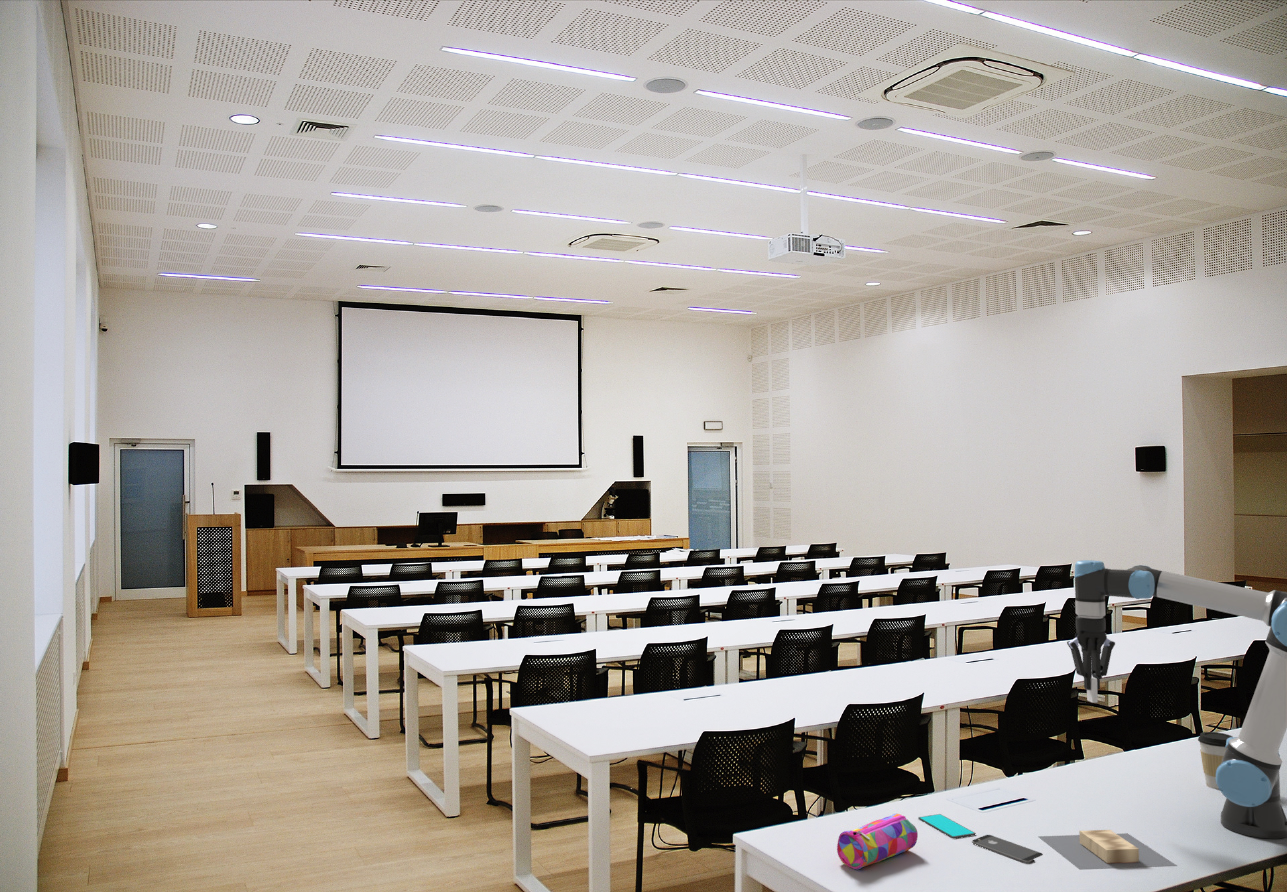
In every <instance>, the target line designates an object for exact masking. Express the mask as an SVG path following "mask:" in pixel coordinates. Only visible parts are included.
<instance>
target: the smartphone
mask: <svg viewBox="0 0 1287 892" xmlns="http://www.w3.org/2000/svg"><path fill="white" fill-rule="evenodd" d="M918 820H920V821H921V822H922V823H924V822H925V824H927V825H928V826H929V827H931V826H932V828H933V829H935V830H937V831H938V830H939V831H938V832H940V833H941V834H943V835H945V834H946V836H947V837H949V838H950V839H952V838H956V839H961V837H963V838H964V836H969V837H972V836H971V835H975V834H976V832H975V831H973V830H971V829H969V828H967V827H965V826H963V825H962V824H960V823H958V822H956V821H954V820H952V819H951V818H949V817H946V816H945V815H943V814H942V813H938V814H937V813H936V814H929V815H923V816H918ZM976 835H977V834H976ZM976 835H975V836H976Z"/></svg>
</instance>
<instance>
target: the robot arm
mask: <svg viewBox="0 0 1287 892" xmlns="http://www.w3.org/2000/svg"><path fill="white" fill-rule="evenodd" d="M1073 578H1074V592H1075V593H1074V595H1075V596H1074V597H1075V599H1074V600H1075V602H1074V603H1075V605H1074V606H1075V614H1076V617H1075V629H1076V633H1075V634H1074V638H1073V639H1072V640H1067V642H1066V645H1067V646H1068V647H1069V649H1070V651H1071V657H1072V660H1073V663H1074V667H1075V671H1076V674H1077V675H1078V676H1081V677H1083V688H1084V690H1086V698H1087V699H1086V700H1087V701H1088V702H1090V703H1094V704H1097V703H1098V702H1099V699H1098V691H1099V690H1101V689H1100V688H1101V680H1102V679H1103V677H1105V676H1106V677H1107V674H1108V670H1109V665H1110V659H1111V656H1112V651H1113V649H1114V647H1115V645H1116V642H1115V641H1113V640H1111V639H1109V638H1108V636H1107V634H1106V630H1107V629H1106V628H1107V626H1106V618H1105V616H1106V597H1119V598H1127V599H1136V600H1140V599H1142V600H1143V599H1144V600H1145V599H1147V600H1148V599H1152V598H1153V597H1154V598H1155V597H1156V598H1160V599H1165V600H1169V601H1172V602H1173V601H1174V602H1179V603H1183V604H1187V605H1191V606H1197V607H1200V608H1205V609H1209V610H1212V611H1213V610H1214V611H1217V612H1222V613H1226V614H1231V615H1235V616H1239V617H1244V618H1248V619H1253V620H1258V621H1261V622H1263V623H1264V624H1265V625H1266V626H1267V627H1270V628H1269V631H1268V633H1267V636H1266V639H1265V644H1266V646H1267V647H1268V650H1269V652H1268V654H1267V658H1266V661H1265V663H1264V666H1263V669H1262V671H1261V674H1260V677H1259V680H1258V682H1257V684H1256V688H1255V690H1254V692H1253V693H1254V694H1253V696H1252V699H1251V701H1250V704H1249V707H1248V710H1247V713H1246V714H1245V718H1244V720H1243V723H1242V726H1241V729H1240V731H1239V735H1238V736H1237V737H1234V736H1232V737H1230V738H1228V739H1227V741H1226V746H1225V747H1226V751H1225V754H1224V757H1223V759H1222V762H1221V764H1220V766H1219V767H1218V768H1217V770H1216V783H1217V786H1218V788H1219V789H1218V790H1219V791H1220V792H1221V794H1222V796H1224V797H1225V801H1224V804H1223V808H1222V811H1221V813H1220V824H1221V826H1223V827H1224V828H1226V829H1228V830H1230V831H1232V832H1235V833H1238V834H1240V835H1243V836H1249V837H1254V838H1259V839H1271V840H1273V839H1275V840H1276V839H1284V838H1287V816H1286V814H1285V811H1284V809H1283V806H1282V804H1281V783H1280V782H1281V780H1280V779H1281V778H1280V770H1281V767H1282V764H1283V761H1282V760H1283V759H1282V758H1281V755H1280V753H1279V751H1280V748H1281V744H1282V743H1283V739H1284V737H1285V734H1286V731H1287V591H1281V590H1275V589H1273V590H1272V591H1270V592H1267V591H1261V590H1256V589H1252V588H1247V587H1241V586H1236V585H1233V584H1228V583H1223V582H1218V581H1213V580H1208V579H1204V578H1199V577H1194V576H1191V575H1189V576H1188V575H1184V574H1179V573H1175V572H1169V571H1164V570H1161V569H1155V568H1152V567H1150V566H1148V565H1143V564H1142V565H1140V564H1139V565H1134V566H1132V567H1130V568H1128V569H1117V568H1116V569H1115V568H1113V569H1111V568H1106V567H1105V563H1104V561H1101V560H1092V559H1091V560H1089V559H1083V560H1078V561H1076V562H1075V563H1074V576H1073ZM1079 646H1080V648H1081V652H1082V653H1081V652H1080V649H1079Z"/></svg>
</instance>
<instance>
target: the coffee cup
mask: <svg viewBox="0 0 1287 892" xmlns="http://www.w3.org/2000/svg"><path fill="white" fill-rule="evenodd" d="M1230 737H1233V735H1231V734H1228V733H1224V732H1215V731H1202V732H1201V733H1200V735H1199V736H1198V738H1197V741H1198V743H1199V746H1200V751H1199V752H1200V756H1201V757H1200V758H1201V765H1202V770H1203V774H1204V779H1205V784H1206V786H1207V787H1208V788H1211V789H1214V790H1219V788H1218V786H1217V783H1216V770H1217V768H1218V767H1219V766H1220V764H1221V762H1222V759H1223V757H1224V754H1225V751H1226V747H1225V746H1226V741H1227V739H1228V738H1230Z"/></svg>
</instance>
